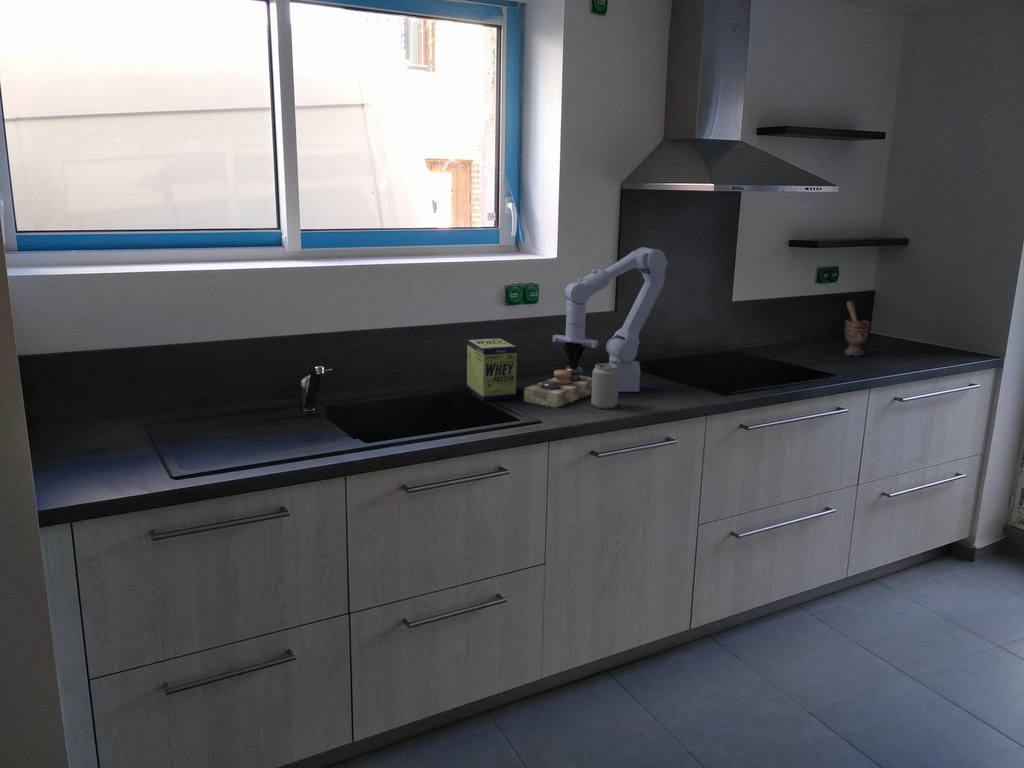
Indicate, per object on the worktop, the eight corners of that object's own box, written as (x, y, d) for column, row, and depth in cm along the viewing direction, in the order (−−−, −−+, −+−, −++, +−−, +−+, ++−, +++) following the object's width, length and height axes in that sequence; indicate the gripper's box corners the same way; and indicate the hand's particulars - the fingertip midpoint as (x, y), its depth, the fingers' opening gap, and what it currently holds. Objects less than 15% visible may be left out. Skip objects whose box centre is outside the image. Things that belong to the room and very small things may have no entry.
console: (567, 385, 257) (567, 373, 257) (598, 391, 251) (598, 378, 250) (523, 401, 238) (524, 388, 237) (556, 407, 232) (556, 394, 231)
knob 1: (558, 396, 242) (558, 381, 241) (560, 400, 237) (560, 385, 236) (540, 395, 242) (541, 381, 241) (542, 400, 237) (542, 385, 236)
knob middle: (569, 384, 247) (570, 369, 246) (572, 388, 242) (572, 373, 241) (552, 384, 246) (553, 369, 245) (554, 388, 241) (555, 373, 240)
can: (602, 401, 240) (604, 361, 237) (622, 406, 235) (624, 365, 232) (585, 405, 235) (587, 364, 232) (606, 411, 230) (608, 369, 227)
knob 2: (580, 380, 252) (581, 366, 251) (583, 384, 247) (583, 370, 246) (563, 380, 252) (564, 366, 251) (565, 384, 247) (566, 369, 245)
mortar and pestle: (830, 352, 318) (836, 300, 314) (845, 350, 322) (851, 299, 318) (855, 357, 309) (861, 304, 304) (870, 355, 313) (877, 303, 308)
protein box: (483, 401, 238) (483, 348, 234) (466, 389, 252) (466, 338, 248) (516, 398, 241) (517, 346, 238) (498, 386, 255) (498, 337, 252)
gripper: (547, 322, 246) (546, 366, 249) (590, 328, 238) (588, 373, 241) (560, 319, 251) (558, 362, 255) (602, 324, 243) (599, 369, 247)
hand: (573, 368), depth 248 cm, fingers closed
